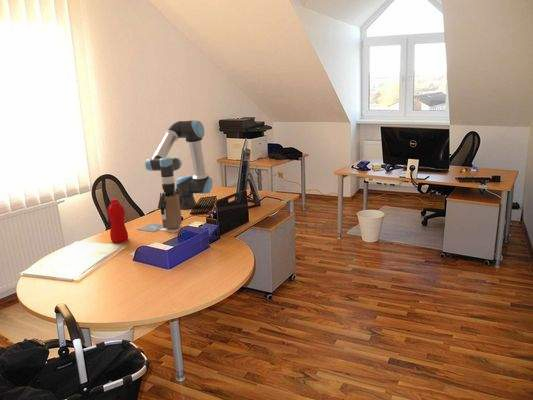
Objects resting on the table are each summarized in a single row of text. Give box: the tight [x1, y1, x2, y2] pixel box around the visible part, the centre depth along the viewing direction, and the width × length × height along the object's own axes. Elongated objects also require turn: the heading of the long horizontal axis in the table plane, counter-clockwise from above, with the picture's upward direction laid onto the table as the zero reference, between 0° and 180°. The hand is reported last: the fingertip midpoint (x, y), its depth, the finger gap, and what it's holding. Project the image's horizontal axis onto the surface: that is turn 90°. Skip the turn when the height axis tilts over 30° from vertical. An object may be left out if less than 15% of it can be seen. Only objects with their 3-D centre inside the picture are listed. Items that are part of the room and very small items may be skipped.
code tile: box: [137, 222, 163, 233], centre depth 284 cm, size 14×14×1 cm
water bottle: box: [106, 198, 129, 244], centre depth 259 cm, size 9×11×25 cm
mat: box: [159, 225, 185, 233], centre depth 280 cm, size 12×12×1 cm
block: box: [161, 193, 183, 228], centre depth 277 cm, size 10×10×20 cm
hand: (171, 216), depth 278 cm, fingers closed on block, 13 cm apart
